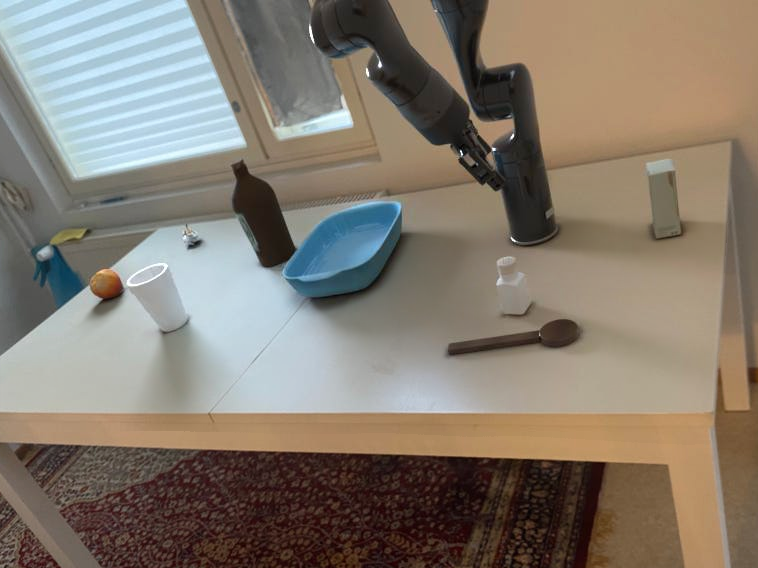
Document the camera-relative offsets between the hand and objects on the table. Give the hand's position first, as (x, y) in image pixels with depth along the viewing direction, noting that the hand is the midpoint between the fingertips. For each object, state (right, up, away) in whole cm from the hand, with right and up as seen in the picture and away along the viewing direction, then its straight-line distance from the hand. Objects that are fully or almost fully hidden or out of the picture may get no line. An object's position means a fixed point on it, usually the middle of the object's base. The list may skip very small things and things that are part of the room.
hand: (493, 169), depth 109 cm
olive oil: (-45, -4, +65) cm, 79 cm away
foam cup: (-66, -21, +50) cm, 85 cm away
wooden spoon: (+4, -27, +4) cm, 27 cm away
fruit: (-91, -12, +78) cm, 121 cm away
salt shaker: (+6, -21, +12) cm, 25 cm away
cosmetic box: (+34, -6, +19) cm, 39 cm away
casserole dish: (-25, -8, +47) cm, 54 cm away
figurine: (-74, +4, +94) cm, 120 cm away
